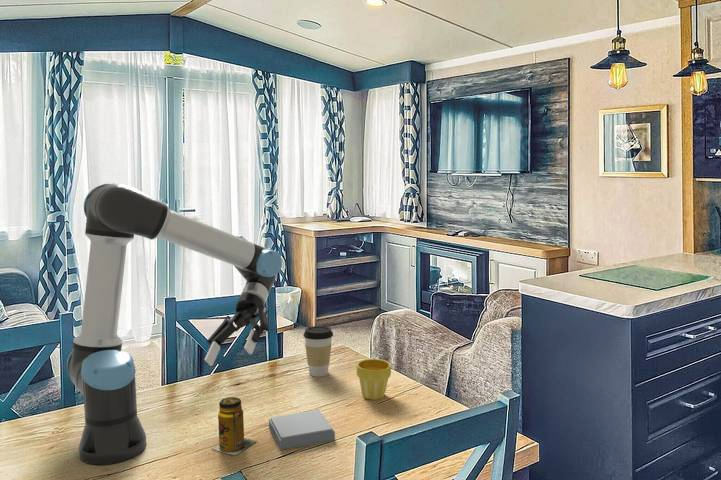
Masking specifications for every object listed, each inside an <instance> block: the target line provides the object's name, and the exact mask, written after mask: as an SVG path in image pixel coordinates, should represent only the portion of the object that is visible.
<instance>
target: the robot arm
mask: <svg viewBox="0 0 721 480" xmlns="http://www.w3.org/2000/svg"><path fill="white" fill-rule="evenodd" d="M83 212H84V215H85V217H86V219H85V220H86V222H85V231H84V235H85V236H86V237H87V238H88V239H89V241H90V246H89V253H88V265H87V271H86V272H87V273H86V281H85V282H86V283H85V290H84V291H85V293H84V301H83V311H82V319H81V329H80V333H79V334H78V335H77V336H76V337H74V339H73V341H72V344H73V345H72V351H71V352H70V354H69V355H68V357H67V361H66V372H67V376H68V378H69V380H70V381H71V382H72V383H71V384H73V385H74V386H75V387H76V388H77V390H78V391H79V392H80V393H81V395H82V397H83V408H84V427H83V430H82V434H81V438H80V441H79V445H78V455H79V456H80V457H79V459H80V458H81V459H80V460H81V461H82V460H83V461H84V462H83V461H82V462H83V463H86V462H87V463H86V464H89V463H90V465H95V464H105V465H111V463H113V464H117V462H118V463H120V462H125V461H127V460H130V459H132V458H135V457H136V456H138V455H139V454H140V453H143V451H144V450H145V448H146V447H147V434H146V432H145V429H144V427H143V424H142V422H141V421H140V418H139V416H138V409H137V405H138V404H137V402H138V401H137V388H136V387H137V386H136V372H137V371H136V365H135V360H134V358H133V356H132V355H131V354H129V353H128V352H126V351H123V350H122V348H123V339H121V338H120V336H119V335H118V328H119V320H120V319H119V318H120V309H121V301H122V292H123V291H122V290H123V283H124V271H125V263H126V255H127V245H128V243H130V242H131V241H132V240H133V239H135V238H134V237H135V236H140V237H143V238H146V239H148V240H151V241H153V240H155V239H158V238H159V239H160V240H164V241H166V242H169V243H172V244H174V245H177V246H181V247H183V248H184V249H187V250H188V249H189V250H191V251H194V252H196V253H199V254H201V255H205V256H208V257H210V258H213V259H216V260H219V261H221V262H223V263H227V264H229V265H233V266H234V268H235V269H236V270H237V272H239V274H240V275H241V276H242V277H243V279H244V280H245V281H246V282H245V285H244V287H243V290H242V291H241V293H240V296H239V299H237V302H236V305H235V314H233V316H231V317H230V315H226V316H225V318H224V320H223V321H222V322H221V324H219V326H218V327H217V328H216V330H215V331H214V332H213V333H212V334H211V335H210V337H208V339H207V340H206V343H207V344H208V345H209V348H208V350H207V353H206V356H205V357H204V361H205V362H206V363H207V364H208V365H209V366H210V367H212V366H213V365H214V363H215V361H216V360H217V357H218V355H219V353H220V350H221V348H222V347H221V346H222V345H223V343H224V342H225V341H226V340H228V339H229V338H230V336H232V335H233V334H234V333H235V332H238V331H240V329H241V328H243V327H247V326H249V325H251V326H252V328H253V329H251V330H250V331H249V334H248V337H247V339H246V341H245V345H244V347H243V349H244V351H246V352H247V353H248V355H249V356H250V355H253V352H254V350H255V348H256V345H257V343H258V342H259V341H260V337H261V335H263V333H264V332H268V331H269V330H270V326H269V321H268V315H267V314H268V311H269V310H268V309H267V308H266V306H265V304H266V302H267V299H268V298H269V295H270V293H271V291H272V287H273V286H274V284H275V281H276V278H277V275H278V274H279V272H280V271H281V269H282V266H283V259H282V256H281V254H280V253H279V252H277V251H276V250H273V249H271V248H265V247H263V246H262V245H258V244H256V243H253V242H251V241H248V240H247V239H246V238H245V237H244V236H243V235H234V234H231V233H229V232H226V231H224V230H221V229H219V228H216V227H215V226H211V225H209V224H206V223H204V222H201V221H199V220H196V219H194V218H192V217H189V216H187V215H184V214H182V213H179V212H176V211H175V210H172V209H170V206H169V205H168V204H167V202H164V201H161V200H158V199H157V198H154V197H152V196H150V195H148V194H146V193H144V192H143V191H141V190H139V189H137V188H135V187H133V186H130V185H127V184H119V183H118V184H117V183H110V182H109V183H108V182H107V183H103V184H101V185H97V186H95V187H94V188H92V189H91V190H90V191H89V192H88V193H87V194H86V196H85V199H84V202H83ZM258 318H259V319H258ZM256 319H258V320H259V323H258V322H257V321H256ZM259 324H260V325H259Z"/></svg>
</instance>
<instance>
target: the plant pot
mask: <svg viewBox="0 0 721 480" xmlns="http://www.w3.org/2000/svg"><path fill="white" fill-rule="evenodd" d="M391 375H392V364H391V363H390V362H389V361H387V360H384V359H380V358H379V359H378V358H367V359H363V360H362V359H361V360H359V361H358V362H357V363H356V376H357V377H358V380H359V384H360V385H359V386H360V389H361V395H362V397H363V398H364V399H367V400H372V401H373V400H375V401H376V400H381V399H383V398H384V397H385V395H386V390H387V386H388V380H389V378H390V377H391Z"/></svg>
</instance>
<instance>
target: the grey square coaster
mask: <svg viewBox="0 0 721 480" xmlns="http://www.w3.org/2000/svg"><path fill="white" fill-rule="evenodd" d="M268 429H269V430H270V432H271V433H270V434H271V435H272V436H273V438H274V441H275V442H276V444H277V446H278V448H279V450H280V451H283V450H288V449H289V450H290V449H294V448H300V447H305V446H309V445H316V444H322V443H327V442H333V441H335V440H336V434H335V433H336V431H335V430H334V428H333V427H332V425H331V424H330V423H329V421H328V420H327V419H326V417H325V416H324V415H323V413H322V412H321V411H320V409H314V410H309V411H308V410H307V411H303V412H296V413H290V414H283V415H276V416H271V417H270V418H268Z"/></svg>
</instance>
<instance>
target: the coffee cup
mask: <svg viewBox="0 0 721 480" xmlns="http://www.w3.org/2000/svg"><path fill="white" fill-rule="evenodd" d="M333 336H334V333H333V331H332V329H331V327H329V326H325V325H324V326H323V325H313V326H308V327H306V328H305V331H304V332H303V337H304V341H305V343H304V347H305V354H306V361H307V365H308V373H309V375H310V376H312V377H317V378H318V377H324V376H327V375H328V374H329V367H330V361H331V354H332V353H331V351H332V344H333V343H332V337H333Z"/></svg>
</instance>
